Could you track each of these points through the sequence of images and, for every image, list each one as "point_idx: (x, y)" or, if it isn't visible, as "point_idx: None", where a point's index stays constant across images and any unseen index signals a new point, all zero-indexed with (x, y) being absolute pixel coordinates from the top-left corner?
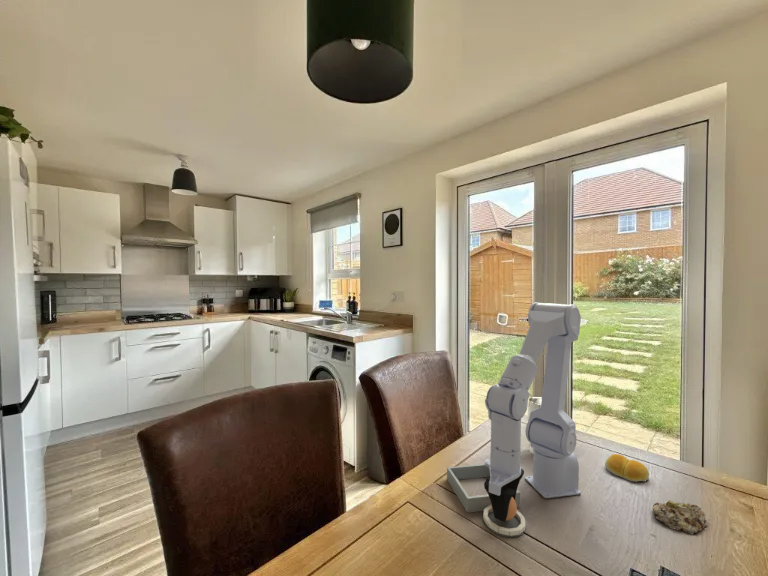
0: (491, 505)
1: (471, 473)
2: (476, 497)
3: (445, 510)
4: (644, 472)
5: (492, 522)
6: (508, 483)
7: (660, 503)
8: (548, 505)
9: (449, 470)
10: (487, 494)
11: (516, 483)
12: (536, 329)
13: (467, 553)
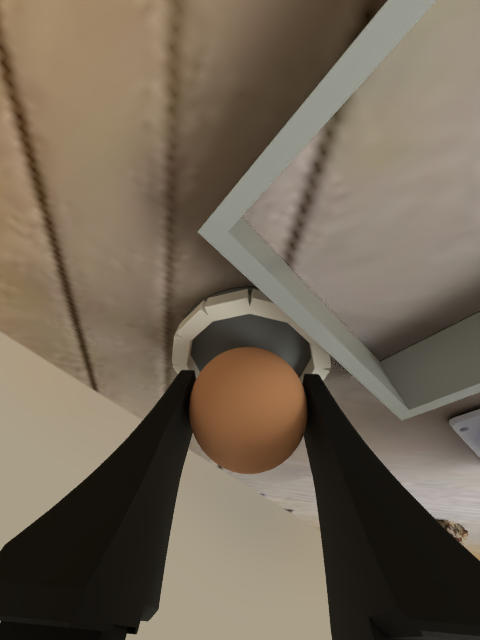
0: (210, 371)
1: None
2: (249, 279)
3: (129, 55)
4: None
5: (188, 344)
6: (329, 504)
7: (465, 536)
8: (410, 423)
9: None
10: (320, 321)
11: (325, 542)
12: None
13: (20, 298)
